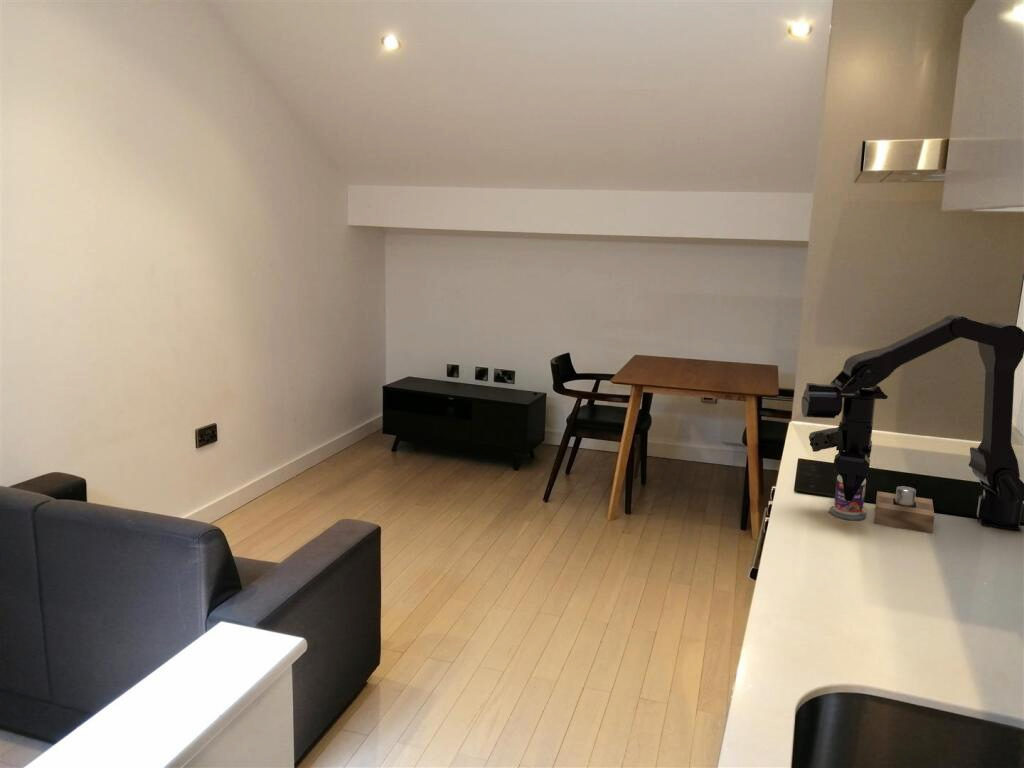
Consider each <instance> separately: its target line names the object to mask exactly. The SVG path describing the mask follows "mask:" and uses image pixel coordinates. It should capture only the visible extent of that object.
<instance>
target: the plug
mask: <svg viewBox="0 0 1024 768" xmlns="http://www.w3.org/2000/svg"><path fill="white" fill-rule="evenodd" d="M916 493H917V490H916V488H913V487H911V486H905V485H902V486H901V485H900V486H896V491H895V494H896V498H895V505H899V506H906V507H912V508H914V503H915V497H916Z"/></svg>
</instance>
